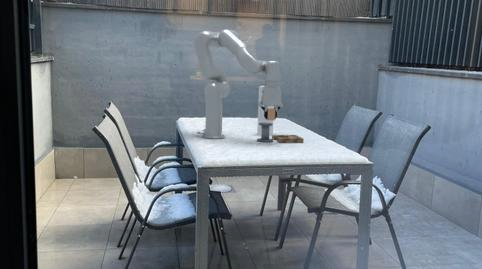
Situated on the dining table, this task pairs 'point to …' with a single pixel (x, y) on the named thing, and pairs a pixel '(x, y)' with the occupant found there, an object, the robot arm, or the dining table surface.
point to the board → (287, 138)
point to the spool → (265, 132)
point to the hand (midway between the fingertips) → (270, 118)
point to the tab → (271, 114)
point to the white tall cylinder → (261, 115)
